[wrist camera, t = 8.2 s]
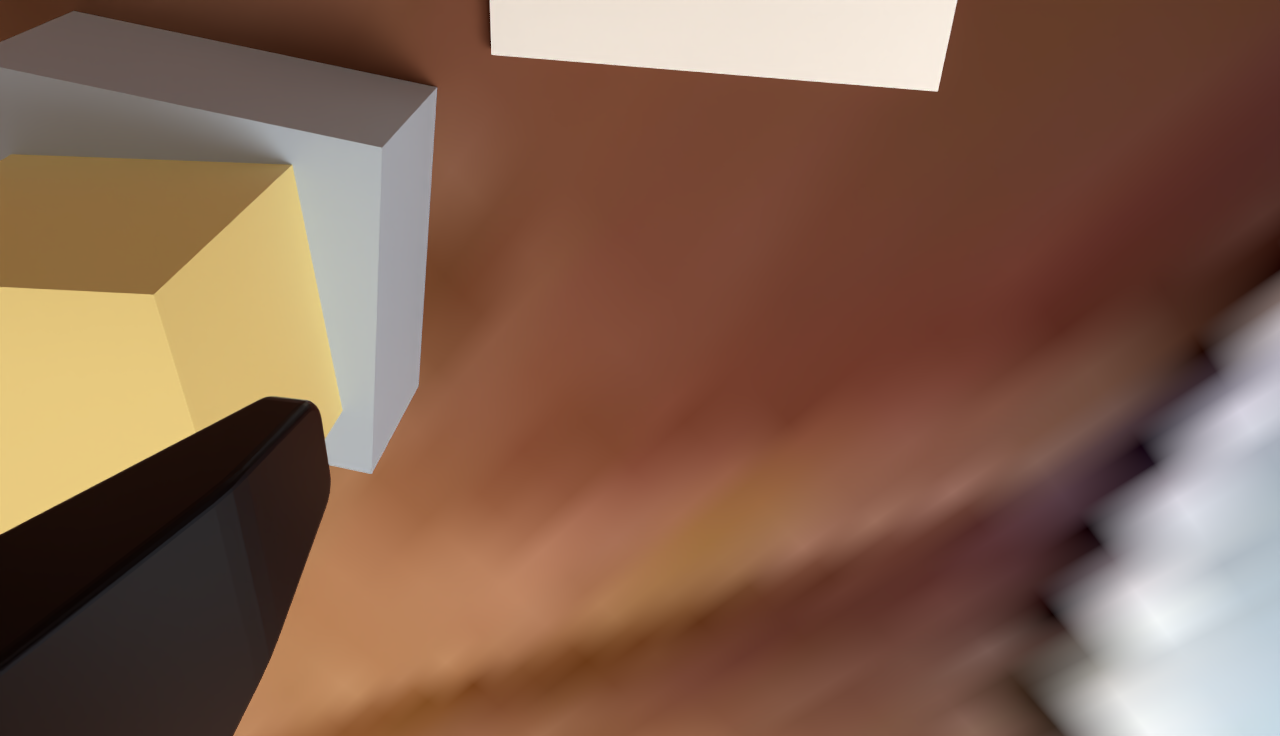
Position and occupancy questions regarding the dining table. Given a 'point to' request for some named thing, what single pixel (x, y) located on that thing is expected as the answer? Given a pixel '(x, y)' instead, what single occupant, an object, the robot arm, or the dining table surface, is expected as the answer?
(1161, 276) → the dining table surface
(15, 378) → the mustard block
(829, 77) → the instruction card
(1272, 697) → the dining table surface
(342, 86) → the base block
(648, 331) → the dining table surface
